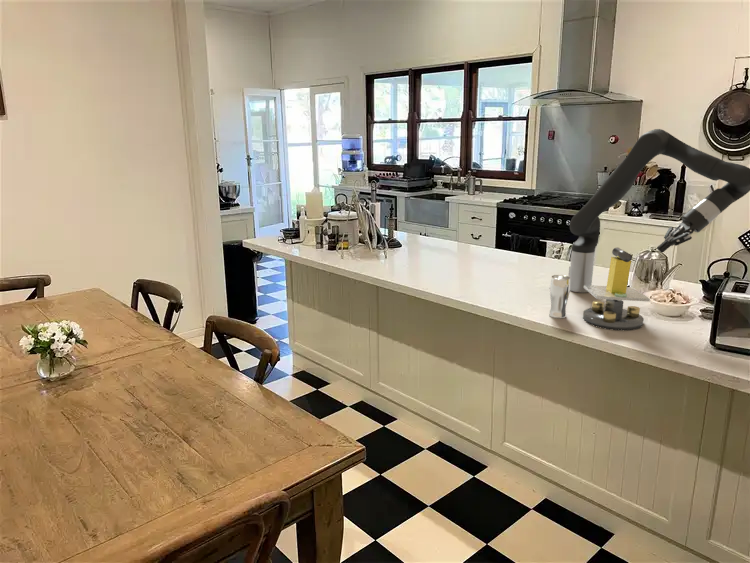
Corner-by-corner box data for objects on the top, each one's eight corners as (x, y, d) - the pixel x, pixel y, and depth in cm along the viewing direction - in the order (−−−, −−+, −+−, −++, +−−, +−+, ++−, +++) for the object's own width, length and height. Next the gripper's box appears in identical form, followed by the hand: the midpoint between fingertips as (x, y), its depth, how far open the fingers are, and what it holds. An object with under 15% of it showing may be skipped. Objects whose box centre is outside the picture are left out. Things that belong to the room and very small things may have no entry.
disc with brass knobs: (575, 311, 209) (578, 287, 206) (629, 312, 208) (632, 287, 205) (593, 330, 189) (596, 303, 187) (652, 330, 188) (656, 304, 186)
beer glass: (544, 313, 207) (547, 274, 203) (562, 312, 208) (566, 274, 204) (552, 319, 200) (555, 279, 196) (570, 318, 201) (574, 279, 197)
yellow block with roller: (583, 287, 203) (589, 245, 199) (633, 290, 202) (640, 247, 198) (596, 298, 189) (603, 253, 185) (649, 301, 189) (657, 256, 184)
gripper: (684, 205, 192) (644, 239, 196) (704, 210, 180) (660, 247, 184) (697, 220, 194) (657, 253, 198) (718, 226, 181) (674, 262, 185)
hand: (659, 250), depth 191 cm, fingers closed
